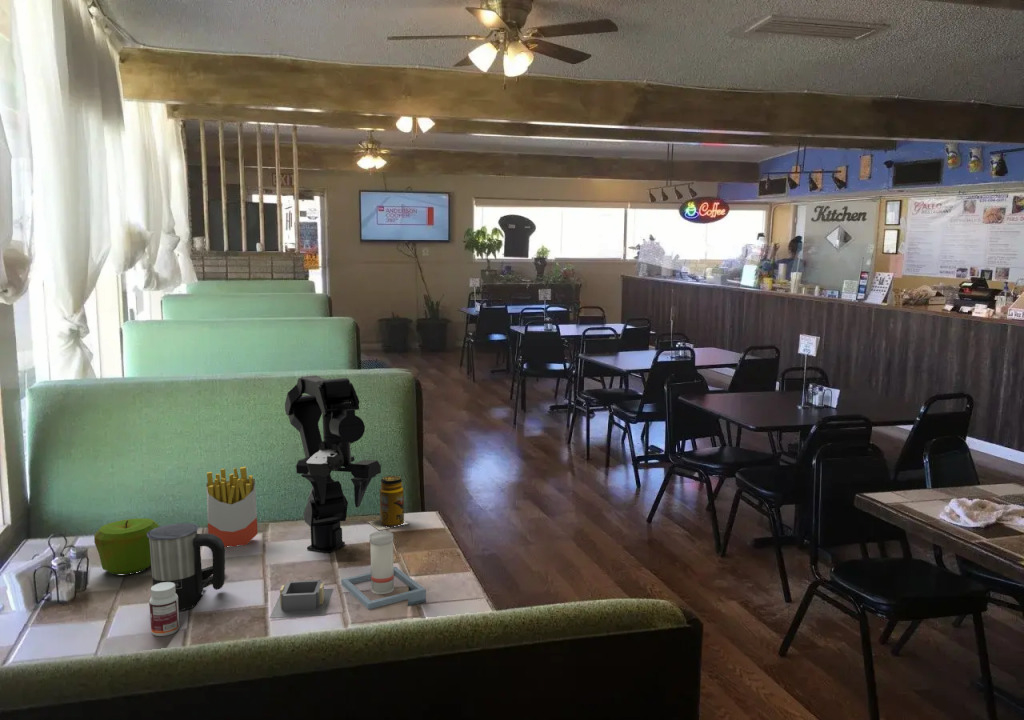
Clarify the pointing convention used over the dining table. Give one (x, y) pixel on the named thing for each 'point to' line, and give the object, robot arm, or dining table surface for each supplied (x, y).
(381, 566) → the cylinder
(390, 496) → the condiment
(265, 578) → the dining table surface
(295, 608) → the fuse holder
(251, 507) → the french fries container
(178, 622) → the pill bottle
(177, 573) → the milk frother
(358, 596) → the tray
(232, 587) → the dining table surface
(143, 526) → the apple
